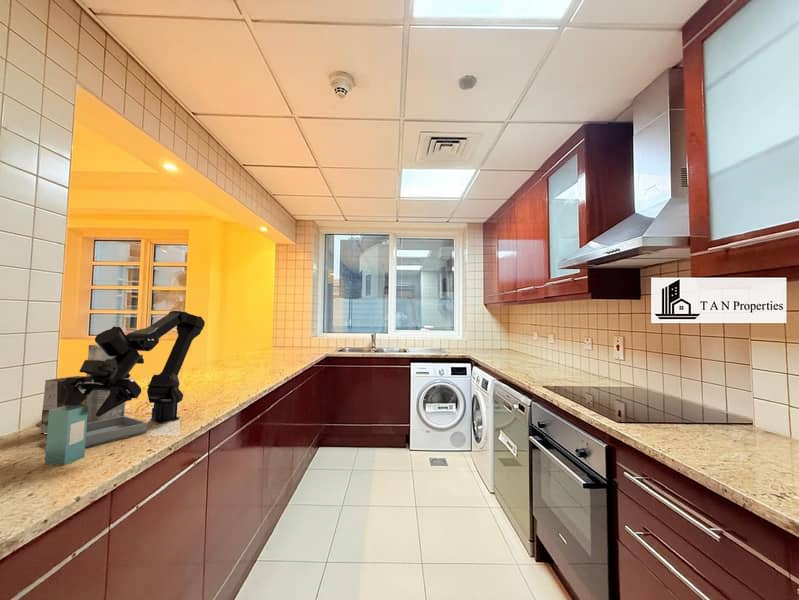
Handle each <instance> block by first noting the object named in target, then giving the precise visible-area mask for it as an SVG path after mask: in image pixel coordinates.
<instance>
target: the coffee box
mask: <svg viewBox="0 0 799 600" xmlns="http://www.w3.org/2000/svg"><path fill="white" fill-rule="evenodd" d="M67 377H68V376H67ZM67 377H60V378H53V379H45V381H44V382H45V383H44V391H43V392H44V394H43V402H42V411H41V421H40V428H39V429H40V430H39V433H40V432H41V433H47V429H48V417H49V410H50V409H54V408H58V407H62V406H64V404H65V402H66V399H67V395H68V391H67V390H66V389H65V388H64V386H63V385H62V383H63V381H64V380H65V379H66V378H67ZM73 377H84V378H85V379H86V380H87V381H88V382H92V380H91V379H90V378H89V377H88V376H83V375H82V376H81V375H77V376H76V375H74V376H73ZM86 397H87V398H86V399H85V400H84V401H83V402H82V403H80V404H79V405H88V415H87V423H89V422H88V421H89V409H90V397H91V393H90V394H89V395H87V396H86Z"/></svg>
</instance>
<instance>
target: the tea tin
mask: <svg viewBox="0 0 799 600" xmlns="http://www.w3.org/2000/svg"><path fill="white" fill-rule="evenodd" d="M87 415H88V405H66V406H62V407H58V408H54V409H50V410H49V417H48V429H47V435H46V442H45V455H44V465H45V466H46V465H49V466H68V465H69V464H71V463H73V462H77V461H78V459H79V460H81V459H83V458H85V454H86V453H85V451H86V450H85V449H86V448H85V441H86V428H87ZM80 458H81V459H80Z"/></svg>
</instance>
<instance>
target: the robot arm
mask: <svg viewBox="0 0 799 600" xmlns="http://www.w3.org/2000/svg"><path fill="white" fill-rule="evenodd" d="M205 324H206V323H205V319H203V317H202V316H197V315H194V314H191V313H188V312H187V311H185V310H171V311H169V312H168V314H165V316H163V317H162V318H160V319H158V320H157V321H155V322H154V323H153V324H151V325H149V326H147V327H145V328H139V329H136V330H133V331H131V332H129V333H127V334H125V332H124V331H123V328H122V327H121V326H112V327H111V328H109V329H106V330H104V331H102V332H100V333H98V334H97V335H96V336H95V338H94V341H95V343H96V345H99V346H100V348H101V349H102V350H103V351H104V352H105V353H106V354H107V355H108V356H114V357H113V358H112V359H107V360H105V361H99V360H88V359H84V361H83V362H82V365H81V366H80V369H79V370H78V372H79V373H84V374H86V375H87V374H89V375H90V376H89V378H90V379H91V380H94V381H93V382H88V381H87V380H86V379H85V378H84V377H74V376H69V377H68V376H67V378H66V377H65V378H66V379H65V380H64V381H63V383H62V385H63V386H64V388H65V389H66V390H67V391H68V395H67V399H66V402H65V404H64V406H66V405H79V404H80V403H82V402H83V401H84V400H85V399H86V398H87V397H86V396H87V395H89V394H90V393H91V392H92V390H103V391H110V394H109V396H108V397H107V399H106V400H105V401H104V403H103V404H102V405H101V407H100V408H99V410H98V411H97V413H96V416H97V417H100V416H101V415H103V414H105V413H107V412H108V411H110V410H112V409H113V408H115V407H117V406H119V405H121V404H123V403H124V402H125V403H126V402H128V401H129V402H130V401H132V400H133V399H138V397H140V395H141V393H142V387H141V386H139V384H138V383H137V381H135V379H134V378H130V377H131V374H130V372H131V371H132V369H133V368H134V367H135V366H136V364H141V365H143V364H144V363H145V359H144V355H143V354H140V353H139V352H150V351H152V350H153V349H155V347H156V346H157V345H159V342H160V339H161V337H163V336H164V335H166V334H168V333H169V332H170V331H171V330H172V329H174V328H175V327H176V332H177V337H176V339H175V342H174V344H173V346H172V349H171V350H170V353H169V356H168V358H167V360H166V361H165V363H164V364H165V365H164V367H163V369H162V371H161V372H160V373H158V374H153V375H152V376H151V379H150V382H149V383H148V385H147V389H146V393H147V398H148V401H149V403H150V404H153V407H152V408H151V416H150V417H151V418H150V420H149V421H150V422H154V423H156V424H162V423H168V422H171V421H175V420H179V419H180V417H179V416H178V404H179V403H181V402H182V401H183V398H184V394H183V392H182V391H181V389H180V383H181V382H180V379H179V373H180V371H181V369H182V366H183V364H184V361H185V359H186V357H187V354H188V352H189V350H190V347H191V344H192V343H193V341H194V339H195V338H197V337H198V336H200V334H201V332H202V331H203V329H204V327H205ZM124 378H127V379H124Z"/></svg>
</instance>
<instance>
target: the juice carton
mask: <svg viewBox="0 0 799 600" xmlns="http://www.w3.org/2000/svg"><path fill="white" fill-rule="evenodd" d="M87 350H88V352H87V360H99V361H105V360H107V359H112V358H113V357H114V356H108V355H107V354H106V353H105V352H104V351H103V350H102V349H101V348H100V346H99V345H98V344H89V345H88V349H87ZM86 376H88V377H89V376H90V375H89V374H87V373H86ZM124 379H128V378H124ZM93 381H94V380H92V382H93ZM109 394H110V391H103V390H92V392H91V397H90V409H89V421H88V423H90V422H95V421H100V420H105V419H110V418H115V417H120V416H125V412H126V411H125V410H126V402H124V403H123V404H121V405H119V406H117V407H115V408H113V409H112V410H110V411H108V412H107V413H105V414H103V415H101V416H100V417H97V416H96V413H97V411H98V410H99V408H100V407H101V405H102V404H103V403H104V401H105V400H106V399H107V397H108V396H109Z"/></svg>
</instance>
